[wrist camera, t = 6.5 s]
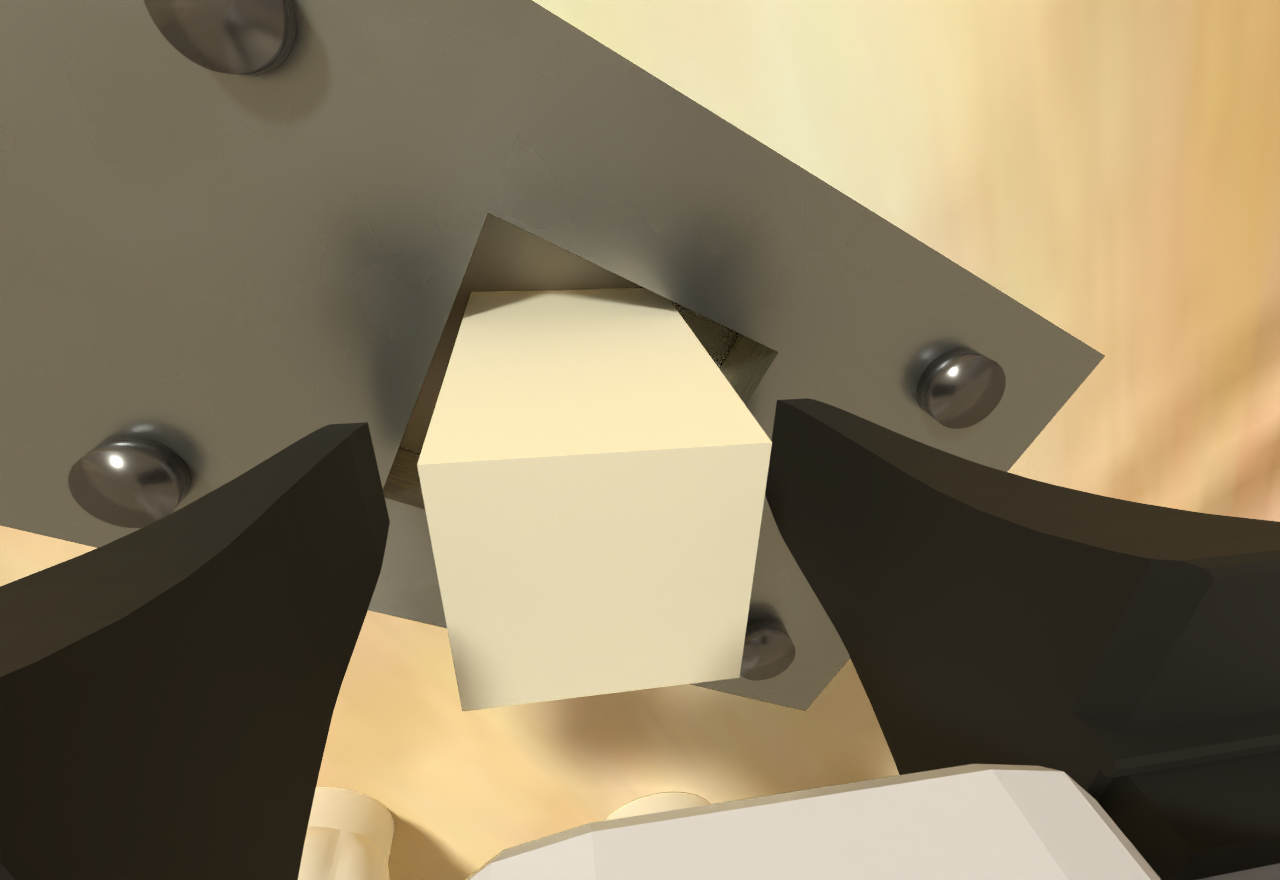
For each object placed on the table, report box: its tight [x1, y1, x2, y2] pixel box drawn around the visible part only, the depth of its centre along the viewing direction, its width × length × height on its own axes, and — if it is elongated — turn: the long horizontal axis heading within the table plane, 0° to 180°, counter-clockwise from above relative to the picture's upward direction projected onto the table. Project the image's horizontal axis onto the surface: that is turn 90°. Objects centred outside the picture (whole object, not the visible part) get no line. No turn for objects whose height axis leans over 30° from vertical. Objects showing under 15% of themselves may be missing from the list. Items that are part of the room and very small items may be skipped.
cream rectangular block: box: [417, 288, 772, 711], centre depth 11 cm, size 4×4×7 cm
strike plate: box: [0, 0, 1105, 711], centre depth 13 cm, size 20×12×3 cm, turn 63°
